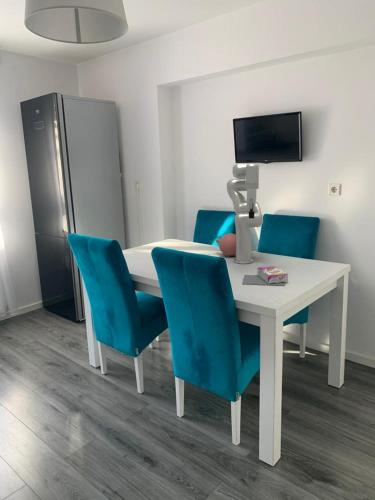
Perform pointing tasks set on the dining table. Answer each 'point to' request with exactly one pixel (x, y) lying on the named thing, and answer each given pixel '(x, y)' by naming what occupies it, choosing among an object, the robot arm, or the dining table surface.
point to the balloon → (227, 244)
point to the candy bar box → (272, 275)
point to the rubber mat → (258, 281)
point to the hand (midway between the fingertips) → (251, 218)
